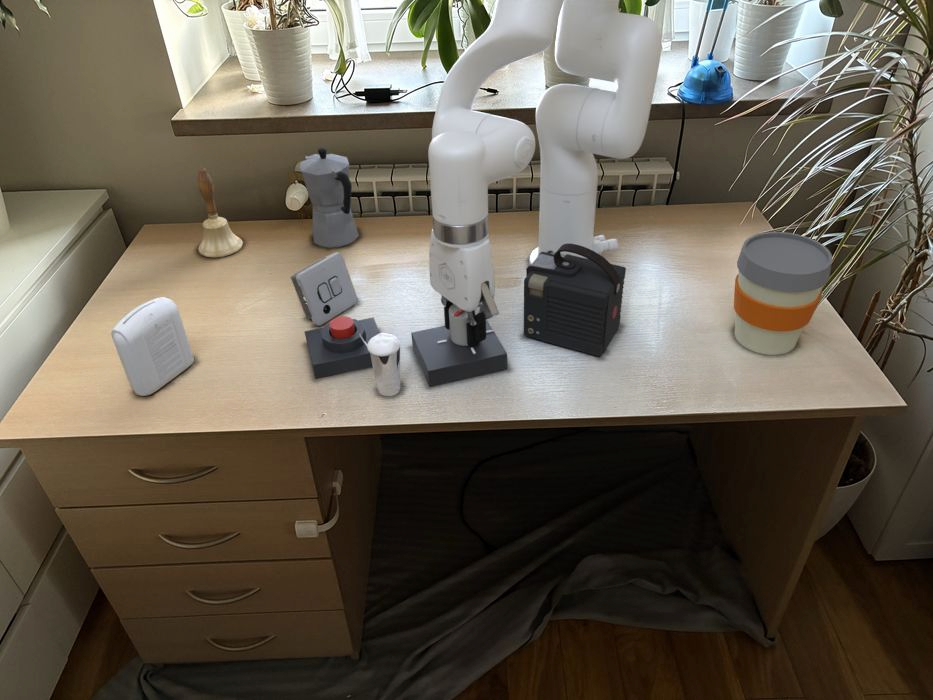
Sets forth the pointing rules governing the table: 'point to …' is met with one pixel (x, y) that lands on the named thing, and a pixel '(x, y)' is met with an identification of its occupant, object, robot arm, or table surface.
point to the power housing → (340, 349)
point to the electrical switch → (325, 289)
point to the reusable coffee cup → (778, 289)
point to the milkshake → (385, 362)
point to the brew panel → (456, 356)
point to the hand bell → (215, 224)
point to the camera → (573, 299)
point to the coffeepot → (329, 198)
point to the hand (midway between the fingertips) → (465, 332)
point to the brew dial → (459, 324)
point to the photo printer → (152, 345)
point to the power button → (342, 327)
